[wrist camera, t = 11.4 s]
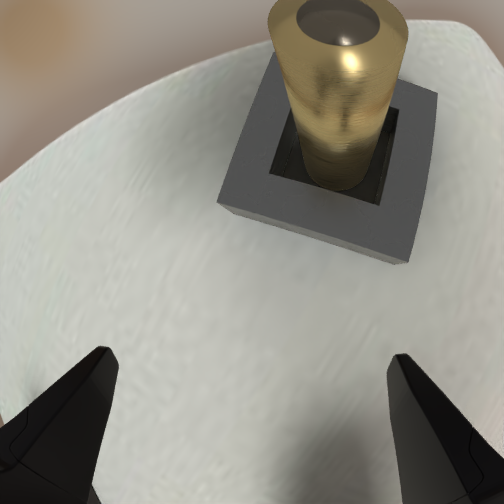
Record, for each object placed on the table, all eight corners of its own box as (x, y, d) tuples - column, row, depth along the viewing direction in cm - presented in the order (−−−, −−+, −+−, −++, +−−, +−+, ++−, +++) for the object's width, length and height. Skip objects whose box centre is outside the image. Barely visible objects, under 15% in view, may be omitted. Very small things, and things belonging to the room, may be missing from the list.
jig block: (424, 117, 18) (437, 93, 15) (394, 264, 18) (408, 262, 15) (281, 79, 21) (273, 52, 18) (233, 213, 21) (216, 202, 18)
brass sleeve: (381, 163, 19) (434, 30, 6) (335, 204, 19) (343, 93, 7) (336, 120, 20) (332, -30, 7) (291, 157, 20) (239, 21, 8)
